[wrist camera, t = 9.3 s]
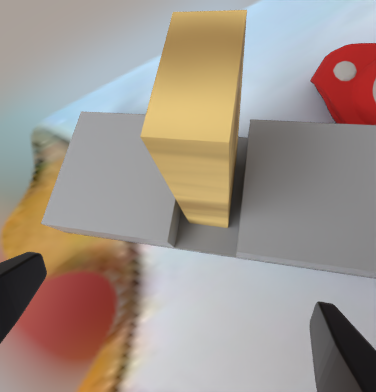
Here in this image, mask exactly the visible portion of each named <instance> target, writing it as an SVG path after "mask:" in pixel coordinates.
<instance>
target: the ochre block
mask: <svg viewBox="0 0 376 392" xmlns="http://www.w3.org/2000/svg"><path fill="white" fill-rule="evenodd" d="M246 15H247V10H231V11H200V12H199V11H197V12H173V14H172V18H171V22H170V26H169V30H168V33H167V37H166V41H165V44H164V48H163V52H162V56H161V60H160V63H159V67H158V71H157V75H156V79H155V82H154V86H153V90H152V94H151V97H150V101H149V105H148V109H147V113H146V116H145V120H144V124H143V128H142V132H141V135H140V137H141V139H142V141H143V142H144V144H145V146H146V148H147V149H148V151H149V153H150V155H151V156H152V158H153V160H154V162H155V164H156V165H157V167H158V169H159V171H160V172H161V174H162V176H163V178H164V179H165V181H166V183H167V185H168V186H169V188H170V190H171V192H172V193H173V195H174V197H175V199H176V200H177V202H178V204H179V206H180V207H181V209H182V211H183V213H184V215H185V216H186V218H187V220H188V222H189V223H193V224H201V225H209V226H216V227H224V228H228V225H229V217H230V208H231V200H232V192H233V183H234V175H235V167H236V158H237V144H238V130H239V116H240V101H241V87H242V72H243V58H244V44H245V29H246Z"/></svg>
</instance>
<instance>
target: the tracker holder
mask: <svg viewBox="0 0 376 392" xmlns="http://www.w3.org/2000/svg"><path fill="white" fill-rule="evenodd" d="M311 82H312V83H313V84H315V86H316V88H317V90H318V92H319V93H320V94H321V96H322V98H323V99H324V101H325V103H326V105H327V108H328V110H329V112H330V114H331V116H332V117H333V119H334V120H335V121H336V123H337V124H357V125H376V43H359V44H350V45H346V46H343V47H341V48H339V49H337V50H335V51H332V52H331V53H330V54H328V55H327V56H326V57H325V58H324V59H323V61H322V63H321V64H320V66H319V67H318V69H317V71H316V72H315V74H314V75H313V77H312V79H311Z"/></svg>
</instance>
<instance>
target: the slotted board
mask: <svg viewBox="0 0 376 392" xmlns="http://www.w3.org/2000/svg"><path fill="white" fill-rule="evenodd" d="M145 116H146V115H144V114H123V113H101V112H81V114H80V116H79V119H78V122H77V125H76V127H75V130H74V133H73V136H72V139H71V141H70V144H69V147H68V150H67V153H66V155H65V158H64V161H63V164H62V167H61V169H60V172H59V175H58V178H57V181H56V183H55V186H54V189H53V192H52V195H51V197H50V200H49V203H48V206H47V208H46V211H45V214H44V217H43V220H42V222H41V224H43V225H46V226H49V227H52V228H55V229H58V230H60V231H63V232H67V233H74V234H81V235H87V236H94V237H101V238H107V239H114V240H121V241H128V242H134V243H141V244H148V245H154V246H161V247H168V248H174V249H181V250H188V251H195V252H201V253H208V254H215V255H221V256H228V257H235V258H242V259H248V260H255V261H262V262H268V263H275V264H282V265H288V266H295V267H302V268H309V269H315V270H322V271H329V272H335V273H342V274H349V275H356V276H362V277H369V278H376V125H357V124H336V123H315V122H293V121H272V120H251V119H250V127H249V134H248V138H243V137H238V144H237V158H236V167H235V175H234V183H233V192H232V200H231V208H230V217H229V225H228V228H224V227H216V226H209V225H201V224H193V223H189V222H188V220H187V218H186V216H185V215H184V213H183V211H182V209H181V207H180V206H179V204H178V202H177V200H176V199H175V197H174V195H173V193H172V192H171V190H170V188H169V186H168V185H167V183H166V181H165V179H164V178H163V176H162V174H161V172H160V171H159V169H158V167H157V165H156V164H155V162H154V160H153V158H152V156H151V155H150V153H149V151H148V149H147V148H146V146H145V144H144V142H143V141H142V139H141V137H140V135H141V132H142V128H143V124H144V120H145Z"/></svg>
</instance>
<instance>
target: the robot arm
mask: <svg viewBox="0 0 376 392" xmlns="http://www.w3.org/2000/svg"><path fill="white" fill-rule="evenodd" d="M46 274H47V271H46V267H45V264H44V260H43V257H42V255H41V254H39V253H35V252H27V253H24V254H22V255H19V256H16V257H14V258H11V259H9V260H6V261H4V262H1V263H0V343H1V342H2V341H3V339H4V338H5V337H6V335H7V334H8V333H9V332H10V330H11V329H12V327H13V326H14V325H15V324H16V322H17V321H18V319H19V318H20V316H21V315H22V313H23V312H24V311H25V309H26V307H27V306H28V304H29V303H30V301H31V300H32V298H33V297H34V295H35V293H36V292H37V290H38V289H39V287H40V285H41V284H42V282H43V281H44V279H45V277H46ZM310 336H311V345H312V354H313V363H314V372H315V381H316V388H317V392H376V350H375V349H374V348H373V347H372V346H371V345H370V343H369V342H368V341H367V340H366V339H365V338H364V337H363V336H362V335H361V334H360V333H359V331H358V330H357V329H356V328H355V327H354V326H353V325H352V324H351V323H350V322H349V321H348V319H347V318H346V317H345V316H344V315H343V314H342V313H341V312H340V311H339V310H338V308H337V307H336V306H335V305H333V304H331V303H325V302H317V303H316V305H315V307H314V311H313V314H312V317H311V320H310Z"/></svg>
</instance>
